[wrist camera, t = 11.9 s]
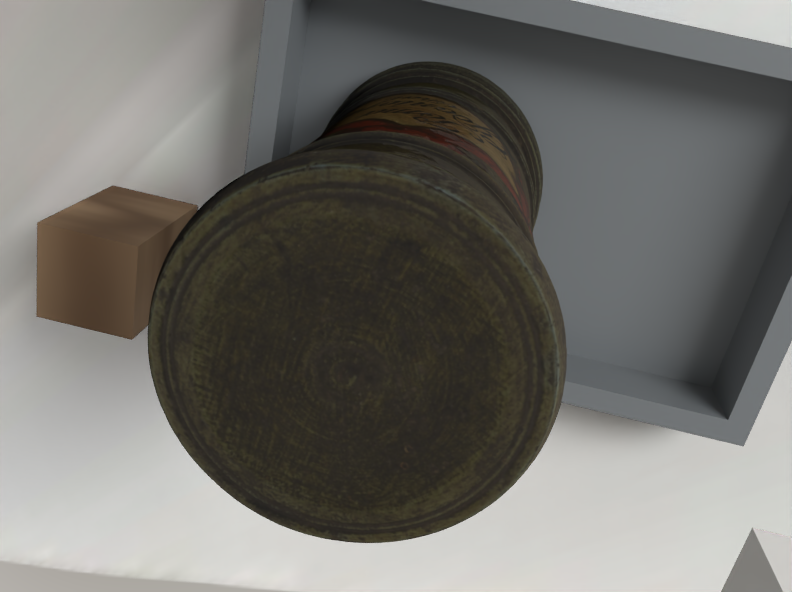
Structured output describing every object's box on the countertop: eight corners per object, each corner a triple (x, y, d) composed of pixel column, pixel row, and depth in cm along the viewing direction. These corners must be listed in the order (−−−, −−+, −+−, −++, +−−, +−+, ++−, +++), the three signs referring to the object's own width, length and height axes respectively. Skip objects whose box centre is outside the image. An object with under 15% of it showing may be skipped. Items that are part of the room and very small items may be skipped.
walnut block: (108, 266, 36) (36, 316, 30) (112, 185, 34) (37, 222, 29) (190, 285, 35) (132, 339, 30) (197, 205, 34) (138, 246, 28)
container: (538, 277, 32) (577, 576, 15) (332, 275, 33) (163, 551, 17) (545, 56, 29) (604, 135, 12) (316, 63, 30) (86, 144, 13)
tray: (251, 291, 35) (226, 321, 32) (298, -58, 29) (273, -64, 26) (720, 403, 34) (743, 446, 31) (866, 65, 28) (912, 73, 25)
